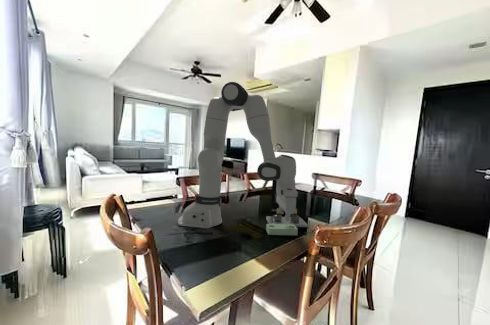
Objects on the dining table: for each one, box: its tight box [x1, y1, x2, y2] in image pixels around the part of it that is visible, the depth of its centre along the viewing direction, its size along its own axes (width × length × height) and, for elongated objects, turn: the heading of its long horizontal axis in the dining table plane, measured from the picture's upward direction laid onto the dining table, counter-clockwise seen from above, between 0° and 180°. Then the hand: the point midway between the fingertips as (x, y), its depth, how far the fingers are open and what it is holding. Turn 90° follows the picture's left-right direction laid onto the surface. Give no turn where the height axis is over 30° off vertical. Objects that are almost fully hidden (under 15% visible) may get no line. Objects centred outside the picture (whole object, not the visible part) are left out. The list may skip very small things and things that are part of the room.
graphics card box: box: [270, 180, 280, 214], centre depth 143 cm, size 17×7×27 cm, turn 168°
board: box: [265, 223, 299, 236], centre depth 108 cm, size 14×6×3 cm, turn 96°
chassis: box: [265, 208, 308, 228], centre depth 121 cm, size 20×11×8 cm, turn 96°
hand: (284, 217), depth 107 cm, fingers open, 8 cm apart
